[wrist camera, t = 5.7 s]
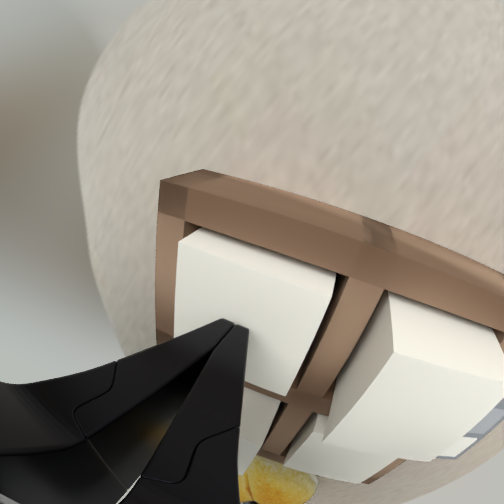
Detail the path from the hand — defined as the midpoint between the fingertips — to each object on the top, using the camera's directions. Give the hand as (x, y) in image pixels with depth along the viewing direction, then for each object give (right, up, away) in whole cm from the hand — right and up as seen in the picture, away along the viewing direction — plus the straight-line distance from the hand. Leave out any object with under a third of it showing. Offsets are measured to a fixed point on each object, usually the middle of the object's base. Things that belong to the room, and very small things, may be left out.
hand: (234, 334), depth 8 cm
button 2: (+6, -1, 0) cm, 6 cm away
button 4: (+1, +1, +3) cm, 3 cm away
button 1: (+5, -6, +4) cm, 9 cm away
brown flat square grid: (+3, -2, +4) cm, 5 cm away
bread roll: (+1, -14, +10) cm, 18 cm away
